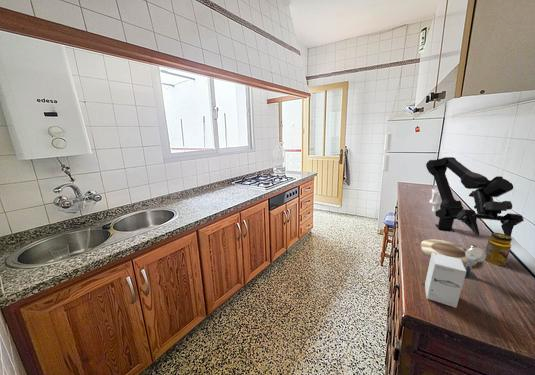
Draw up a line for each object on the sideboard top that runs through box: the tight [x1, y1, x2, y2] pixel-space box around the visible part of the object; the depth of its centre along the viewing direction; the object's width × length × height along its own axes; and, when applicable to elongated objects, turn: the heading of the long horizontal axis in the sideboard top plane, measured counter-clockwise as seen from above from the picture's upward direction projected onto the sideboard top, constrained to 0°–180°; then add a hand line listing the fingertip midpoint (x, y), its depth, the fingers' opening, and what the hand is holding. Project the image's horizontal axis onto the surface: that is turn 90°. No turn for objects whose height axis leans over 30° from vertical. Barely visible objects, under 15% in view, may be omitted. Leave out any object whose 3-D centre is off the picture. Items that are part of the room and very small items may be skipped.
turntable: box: [420, 238, 478, 267], centre depth 89 cm, size 18×18×2 cm
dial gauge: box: [462, 244, 486, 282], centre depth 76 cm, size 8×5×12 cm, turn 160°
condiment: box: [484, 232, 513, 267], centre depth 83 cm, size 7×8×12 cm
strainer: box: [429, 188, 442, 213], centre depth 135 cm, size 7×7×15 cm
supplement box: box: [424, 253, 466, 309], centre depth 66 cm, size 7×7×13 cm
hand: (493, 237), depth 84 cm, fingers open, 9 cm apart
